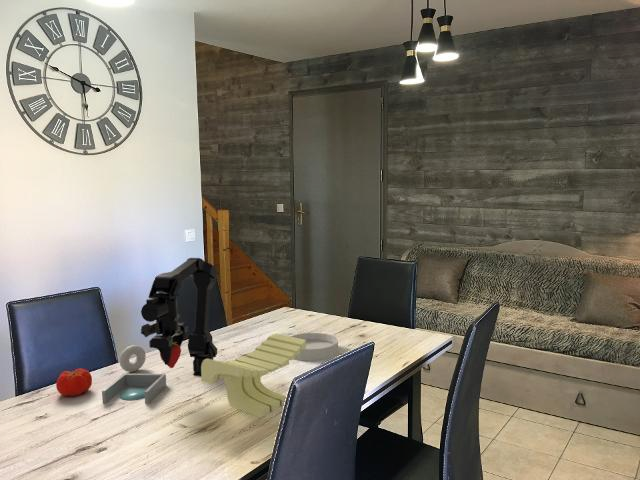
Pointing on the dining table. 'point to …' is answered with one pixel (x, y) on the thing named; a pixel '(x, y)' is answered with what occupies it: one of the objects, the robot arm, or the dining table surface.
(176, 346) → the strawberry
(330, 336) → the dish
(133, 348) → the donut
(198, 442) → the dining table surface
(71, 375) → the tomato
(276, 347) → the slatted curved stool
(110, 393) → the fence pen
